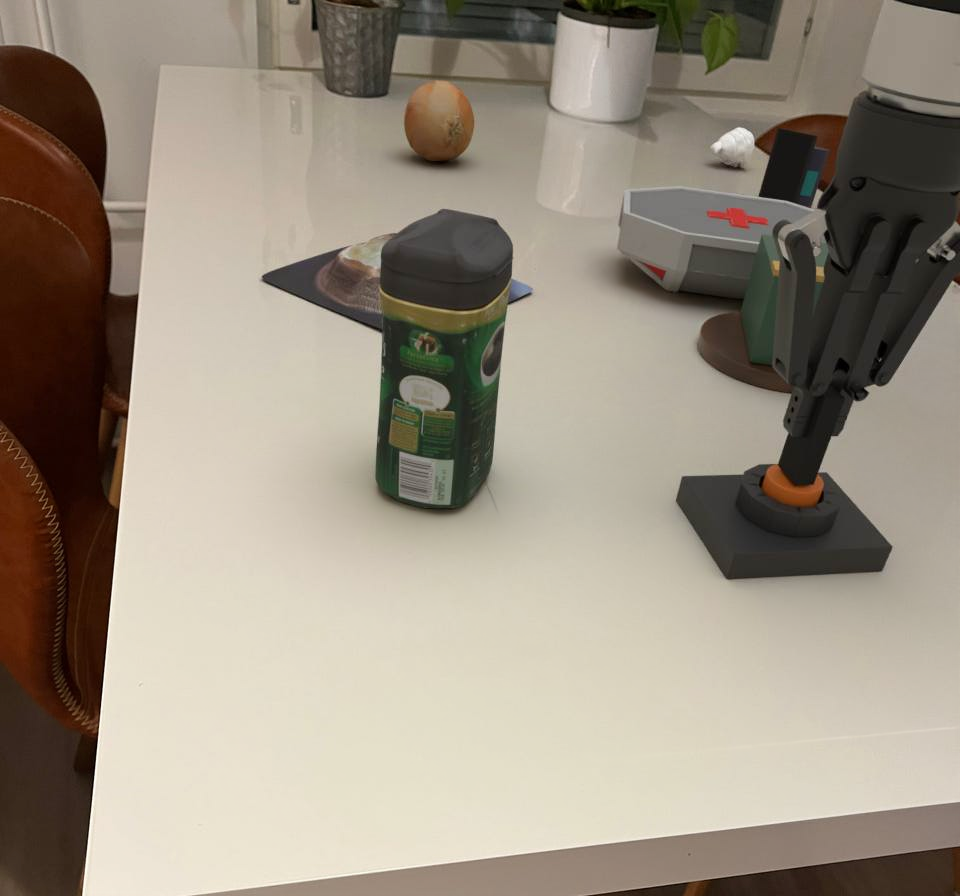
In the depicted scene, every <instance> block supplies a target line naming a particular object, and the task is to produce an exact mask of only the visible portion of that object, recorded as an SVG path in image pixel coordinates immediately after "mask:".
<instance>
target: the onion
mask: <svg viewBox="0 0 960 896" xmlns="http://www.w3.org/2000/svg"><path fill="white" fill-rule="evenodd" d="M404 111H405V112H404V119H403V128H404V133H405V136H406V141H407V142H408V144H409V147H410V148H411V149H412V150H413V151H414V153H416V155H418V156H419V157H420V158H423V159H424V160H427V161H430V162H440V161H441V162H442V161H450V160H454V159H456V158H459V157H461V155H462V154H463V153H464V152H465V151H466V150H467V149H468V147H469V145H470V143H471V142H472V138H473V135H474V131H475V116H474V115H475V114H474V112H473V107H472V105H471V101H470V100H469V98H468V97H467V95H466V94H465V92H464V91H463V90H462V88H460V87H458V86H457V85H455V84H454V83H452V82H449V81H447V80H431V81H427V82H426V83H424V84H422V85H420V86H419V87H418V88H417V89H416V90H415V91H414V92H413V94H412V95H411V97H410V98H409V100H408V101H407V103H406V106H405V110H404Z"/></svg>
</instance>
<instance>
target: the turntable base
mask: <svg viewBox="0 0 960 896" xmlns="http://www.w3.org/2000/svg"><path fill="white" fill-rule="evenodd" d="M740 312H741V311H732V312H725V313H720V314H717V315H714V316H712V317H710V318H708V319H707V320H706V321H704V322H703V323H702V324H701V327H700V332H699V335H698V339H697V344H696V345H697V350H698V352H699V355H701V357H702V358H703V359H704V360H705V362H706V363H708V364H709V365H710V366H712V367H713V368H715V369H716V370H717V371H719V372H721V373H723V374H724V375H727V376H729V377H731V378H733V379H736V380H738V381H740V382H743V383H746V384H748V385H752V386H755V387H759V388H763V389H767V390H770V391H771V390H772V391H775V392H776V391H777V392H782V393H789V394H792V391H793V388H794V387H792V386H790V385H789V384H788V383H787V382H786V381H785V380H784V379H783V378H782V377H781V376H780V375H779V374H778V373H777V371H776V370H775V369H774V368H773V366H772V365H765V364H758V363H751V362H750V358H749V353H748V348H747V344H746V339H745V334H744V330H743V325H742V320H741V315H740ZM831 379H832V378H831ZM830 382H831V380H830Z"/></svg>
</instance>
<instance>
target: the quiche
mask: <svg viewBox="0 0 960 896" xmlns="http://www.w3.org/2000/svg"><path fill="white" fill-rule="evenodd" d="M397 233H398V232H391V233H386V234H381V235H379V236H375V237H373V238H371V239H369V240H368V241H366V242H361V243H357V244H352V245H348V246H344V247H343V246H342V247H340V248H337V249H334V250H333V249H332V250H331V251H327V252H324V253H321V254H318V255H315V256H311V257H308V258H305V259H302V260H299V261H296V262H293V263H291V264H287V265H284V266H282V267H279V268H276V269H273V270H270V271H267V272H266V273H263V274H262V276H261V279H262V280H264V281H265V282H267V283H269V284H272V285H274V286H276V287H278V288H280V289H282V290H284V291H287V292H289V293H292V294H294V295H296V296H298V297H301V298H302V299H305V300H308V301H310V302H312V303H314V304H318V305H320V306H322V307H324V308H327V309H329V310H332V311H334V312H337V313H339V314H342V315H344V316H346V317H349V318H352V319H354V320H357V321H359V322H361V323H365V324H367V325H369V326H372V327H375V328H377V329H380V330H382V311H381V302H380V294H379V285H380V269H381V250H382V247H383V246H384V244H385V243H386V242H388V241H389V240H390V239H391V238H392V237H393V236H394V235H396V234H397ZM533 291H534V288H533V287H532V286H530V285H528V284H527V283H523V282H521V281H518V280H516V279H514V278H511V285H510V292H509V299H508V304H509V303H511V302H513V301H515V300H518V299H520V298H521V297H523V296H526V295H527V294H529V293H531V292H533Z"/></svg>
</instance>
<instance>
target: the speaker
mask: <svg viewBox="0 0 960 896" xmlns="http://www.w3.org/2000/svg"><path fill="white" fill-rule="evenodd" d="M818 138H819V136H818V135H815V134H811V133H805V132H802V131H795V130H791V129H787V128H782V127H781V128H780V127H777V130H776V133H775V137H774V140H773V144H772V147H771V151H770V154H769V157H768V161H767V165H766V168H765V172H764V174H763V179H762V182H761V186H760V188H759V192H758V195H757V197H762V198H769V199H777V200H784V201H789V202H792V203H795V204H798V205H801V206H804V207H808V208H811V209H812V206H813V203H814V200H815V198H816V194H817V192H818V189H819V185H820V181H821V179H822V175H823V173H824V169H825V166H826V163H827V161H828V157H829V153H830V149H827V148H824V147H819V146H816V144H817V140H818Z"/></svg>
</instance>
